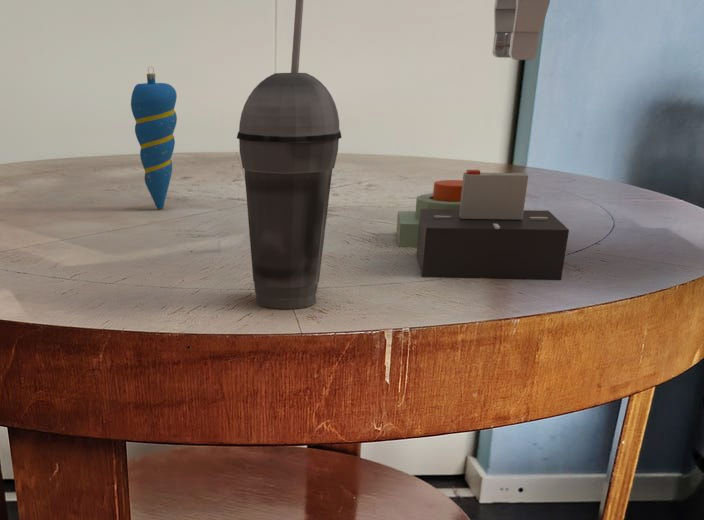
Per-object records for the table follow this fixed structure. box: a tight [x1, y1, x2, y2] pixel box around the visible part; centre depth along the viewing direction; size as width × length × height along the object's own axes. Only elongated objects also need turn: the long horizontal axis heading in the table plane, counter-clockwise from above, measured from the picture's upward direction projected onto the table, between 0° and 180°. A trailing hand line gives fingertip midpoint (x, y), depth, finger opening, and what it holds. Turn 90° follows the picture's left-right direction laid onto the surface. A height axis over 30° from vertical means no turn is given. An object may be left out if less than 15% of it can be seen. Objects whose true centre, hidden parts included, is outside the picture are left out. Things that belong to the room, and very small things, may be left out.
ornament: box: [130, 66, 178, 210], centre depth 102 cm, size 5×5×15 cm
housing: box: [396, 192, 460, 248], centre depth 86 cm, size 10×7×4 cm
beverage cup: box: [236, 0, 342, 310], centre depth 63 cm, size 7×7×20 cm
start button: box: [432, 179, 463, 202], centre depth 85 cm, size 4×4×2 cm
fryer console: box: [416, 209, 570, 281], centre depth 76 cm, size 11×9×4 cm
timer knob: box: [459, 169, 529, 220], centre depth 74 cm, size 5×1×4 cm, turn 82°
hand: (512, 58), depth 69 cm, fingers open, 8 cm apart
